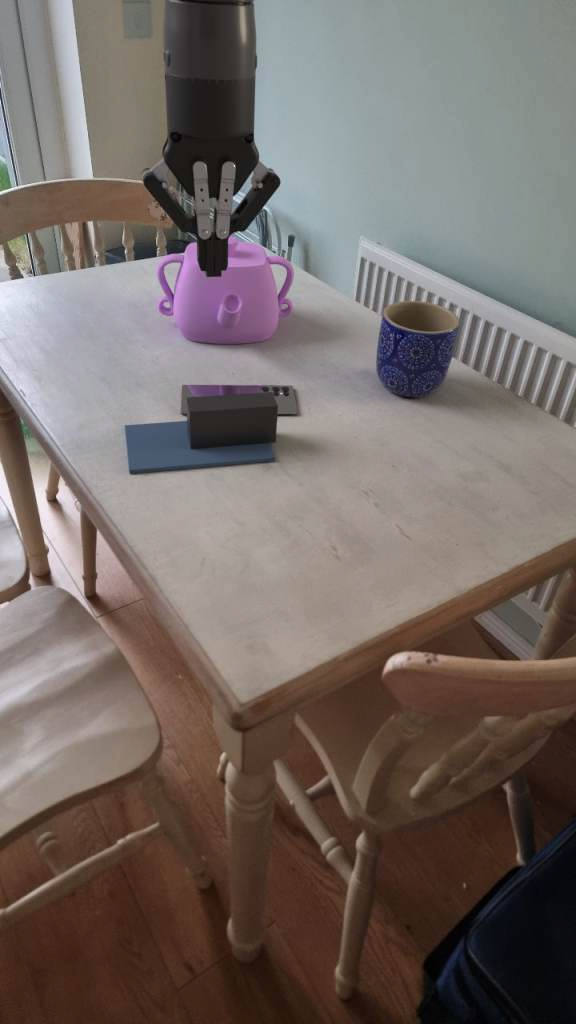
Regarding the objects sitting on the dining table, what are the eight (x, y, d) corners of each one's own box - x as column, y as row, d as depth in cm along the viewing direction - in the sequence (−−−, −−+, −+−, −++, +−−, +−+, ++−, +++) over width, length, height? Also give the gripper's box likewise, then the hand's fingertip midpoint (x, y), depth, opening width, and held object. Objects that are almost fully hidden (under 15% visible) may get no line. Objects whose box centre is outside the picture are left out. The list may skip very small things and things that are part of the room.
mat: (129, 474, 84) (129, 470, 83) (125, 428, 91) (124, 425, 91) (274, 461, 87) (275, 457, 87) (259, 419, 95) (259, 415, 94)
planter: (401, 362, 110) (414, 294, 103) (458, 389, 105) (475, 319, 97) (356, 383, 104) (366, 312, 97) (414, 413, 98) (429, 340, 91)
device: (189, 412, 84) (280, 405, 86) (186, 397, 86) (274, 391, 89) (190, 449, 87) (278, 442, 90) (187, 434, 90) (272, 427, 92)
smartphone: (182, 384, 100) (292, 383, 101) (182, 387, 100) (292, 387, 102) (180, 412, 94) (297, 411, 96) (181, 416, 94) (297, 414, 96)
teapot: (230, 293, 127) (230, 211, 118) (314, 332, 117) (321, 246, 107) (145, 321, 116) (139, 234, 107) (230, 367, 106) (230, 274, 96)
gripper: (278, 63, 61) (270, 258, 73) (126, 57, 59) (141, 261, 70) (298, 78, 56) (286, 287, 67) (131, 72, 53) (147, 291, 64)
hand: (212, 274), depth 68 cm, fingers closed
